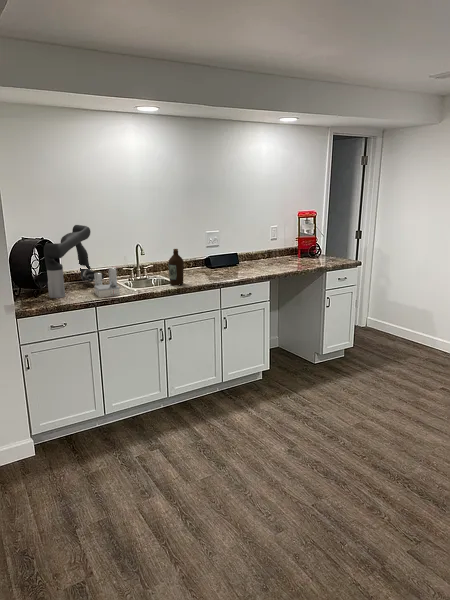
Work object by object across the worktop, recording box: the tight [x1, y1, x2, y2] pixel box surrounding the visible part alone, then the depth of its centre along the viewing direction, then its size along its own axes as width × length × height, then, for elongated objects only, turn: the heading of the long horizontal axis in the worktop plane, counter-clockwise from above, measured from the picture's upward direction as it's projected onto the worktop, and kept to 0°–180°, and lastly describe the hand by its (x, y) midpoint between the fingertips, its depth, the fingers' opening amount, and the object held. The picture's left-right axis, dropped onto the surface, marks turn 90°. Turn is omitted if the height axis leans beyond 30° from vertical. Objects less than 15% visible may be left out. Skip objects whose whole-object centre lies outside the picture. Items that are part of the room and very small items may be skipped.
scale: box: [93, 283, 121, 298], centre depth 290 cm, size 13×12×5 cm
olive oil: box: [167, 248, 185, 286], centre depth 316 cm, size 11×11×25 cm
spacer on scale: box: [108, 267, 118, 288], centre depth 287 cm, size 5×5×12 cm
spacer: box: [94, 272, 103, 286], centre depth 298 cm, size 5×5×12 cm
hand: (95, 279), depth 305 cm, fingers open, 8 cm apart
